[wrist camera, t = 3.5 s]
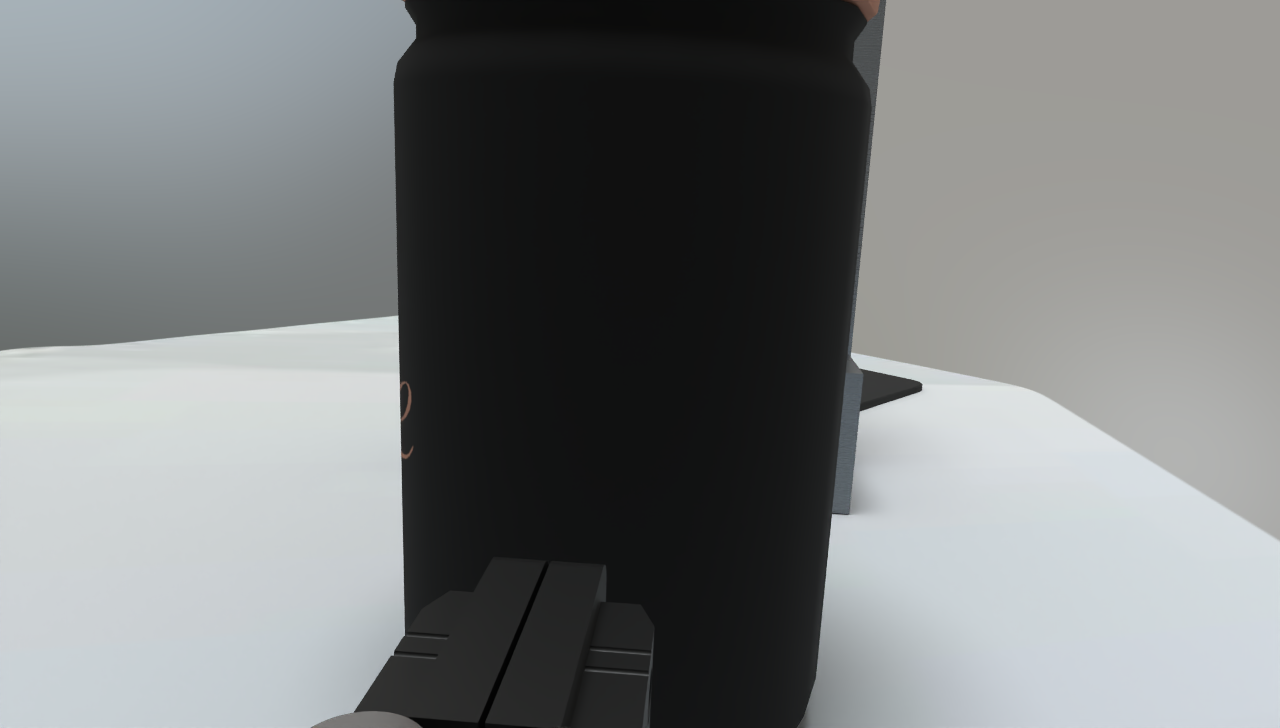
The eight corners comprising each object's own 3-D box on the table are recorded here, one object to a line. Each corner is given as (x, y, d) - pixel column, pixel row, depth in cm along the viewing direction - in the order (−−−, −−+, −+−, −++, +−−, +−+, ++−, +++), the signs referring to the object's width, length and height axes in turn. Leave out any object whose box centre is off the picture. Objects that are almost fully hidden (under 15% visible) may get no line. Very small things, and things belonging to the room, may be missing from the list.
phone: (929, 383, 58) (803, 421, 47) (928, 395, 58) (802, 435, 47) (834, 363, 63) (701, 393, 52) (833, 374, 63) (700, 406, 52)
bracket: (861, 514, 36) (922, -59, 31) (436, 485, 37) (430, -72, 32) (833, 453, 43) (879, -13, 39) (483, 430, 45) (484, -25, 40)
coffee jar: (560, 564, 30) (573, 19, 26) (860, 658, 25) (933, 1, 21) (311, 726, 21) (271, -70, 17) (703, 925, 16) (779, -141, 12)
